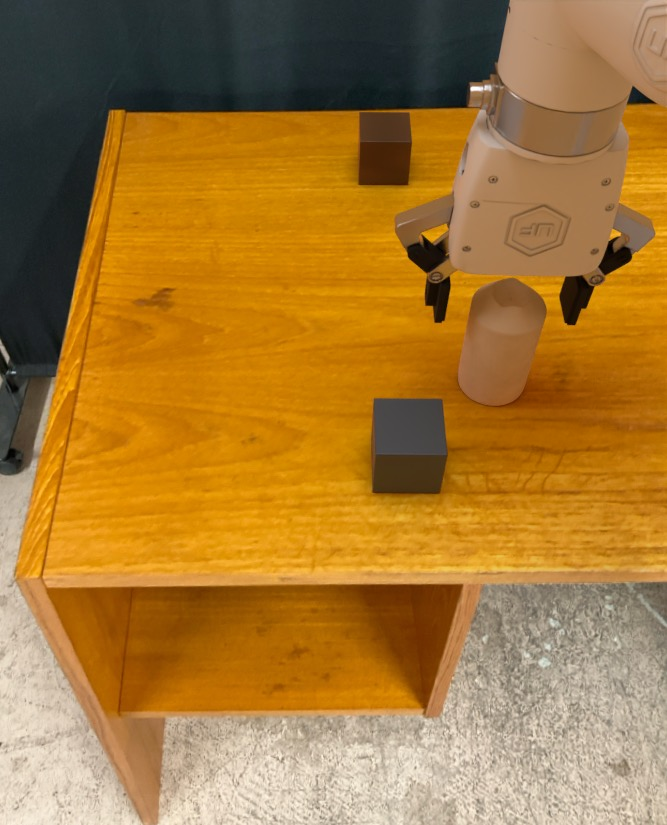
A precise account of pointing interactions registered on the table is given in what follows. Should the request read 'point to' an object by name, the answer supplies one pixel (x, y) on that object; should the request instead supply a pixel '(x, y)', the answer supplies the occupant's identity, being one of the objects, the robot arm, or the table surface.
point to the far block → (384, 148)
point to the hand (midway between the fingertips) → (502, 310)
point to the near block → (408, 445)
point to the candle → (500, 341)
